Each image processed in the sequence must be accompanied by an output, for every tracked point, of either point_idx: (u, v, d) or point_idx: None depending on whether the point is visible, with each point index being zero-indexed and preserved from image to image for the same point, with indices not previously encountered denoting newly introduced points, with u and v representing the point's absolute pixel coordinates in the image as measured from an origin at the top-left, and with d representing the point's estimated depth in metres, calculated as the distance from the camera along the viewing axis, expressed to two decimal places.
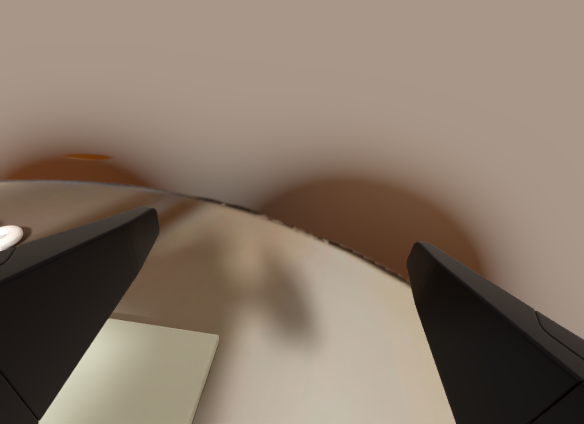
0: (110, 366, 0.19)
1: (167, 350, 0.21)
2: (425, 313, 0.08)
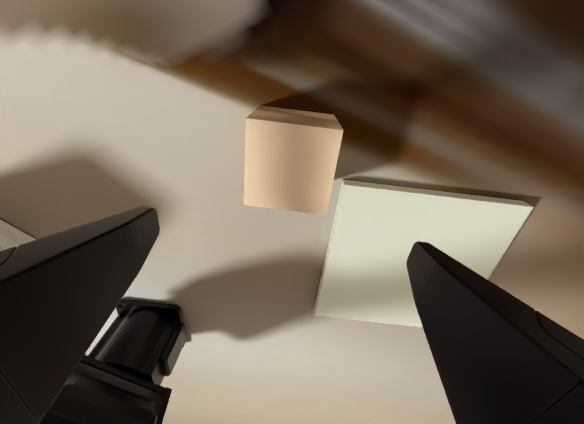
0: None
1: None
2: (425, 313, 0.08)
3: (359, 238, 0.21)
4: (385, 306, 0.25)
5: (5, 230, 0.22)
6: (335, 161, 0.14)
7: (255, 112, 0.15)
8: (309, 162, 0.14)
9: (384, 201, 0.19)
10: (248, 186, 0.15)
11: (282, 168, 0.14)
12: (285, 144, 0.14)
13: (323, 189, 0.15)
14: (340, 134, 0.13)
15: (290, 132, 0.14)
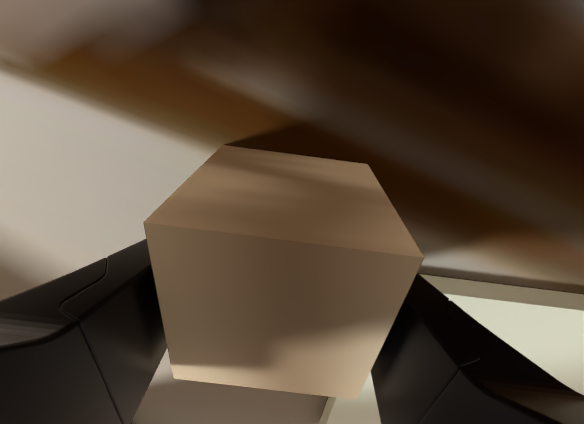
0: None
1: None
2: None
3: None
4: None
5: None
6: (390, 318, 0.06)
7: (194, 179, 0.06)
8: (324, 319, 0.06)
9: None
10: (178, 351, 0.06)
11: (254, 325, 0.06)
12: (262, 282, 0.05)
13: (354, 363, 0.06)
14: (413, 266, 0.05)
15: (273, 258, 0.05)
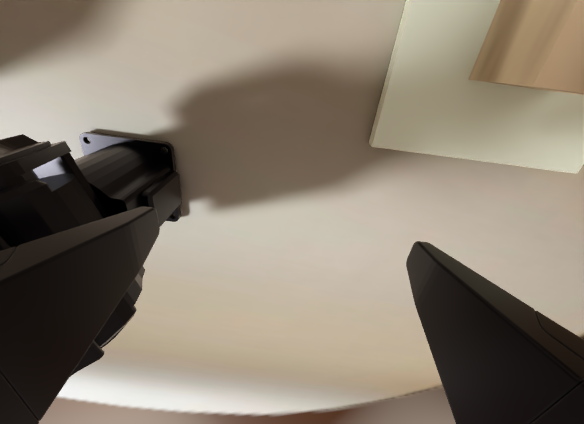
0: None
1: None
2: (425, 313, 0.08)
3: None
4: (482, 124, 0.16)
5: None
6: None
7: None
8: None
9: None
10: (557, 51, 0.10)
11: None
12: None
13: None
14: None
15: None
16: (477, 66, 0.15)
